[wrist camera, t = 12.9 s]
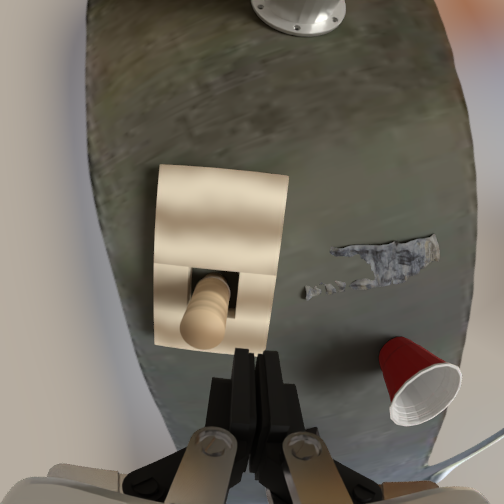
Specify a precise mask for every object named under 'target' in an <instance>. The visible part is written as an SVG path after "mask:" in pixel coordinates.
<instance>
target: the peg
mask: <svg viewBox="0 0 504 504" xmlns="http://www.w3.org/2000/svg"><path fill="white" fill-rule="evenodd" d="M229 299H230V289H229V286H228V284H227V280H226V278H225V277H224V276H223V275H222V274H220V273H216V272H212V273H209V274H207V275H206V276H205V277H204V278H202V279H201V280H200V281H199V282H198V283H197V284H196V286H195V289H194V293H193V295H192V297H191V299H190V302H189V304H188V306H187V309H186V311H185V313H184V315H183V318H182V320H181V323H180V333H181V336H182V338H183V339H184V341H185V342H186V343H187V344H189V345H190V346H192V347H194V348H196V349H201V350H208V349H212V348H214V347H216V346H218V345H219V344H220V343H221V342H222V340H223V338H224V335H225V328H226V320H227V312H228V304H229Z"/></svg>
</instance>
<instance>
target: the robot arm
mask: <svg viewBox="0 0 504 504" xmlns="http://www.w3.org/2000/svg"><path fill="white" fill-rule="evenodd" d="M251 5H252V7H253V10H254V11H255V13H256V14H257V16H258V17H259V18H260V19H261V20H262V21H263V22H265V23H266V24H267V25H269V26H270V27H272V28H274V29H276V30H278V31H281V32H284V33H287V34H290V35H295V36H304V37H311V36H319V35H323V34H326V33H328V32H331V31H332V30H334V29H335V28H337V27H338V25H339V24H340V23H341V22H342V20H343V18H344V16H345V12H346V4H345V0H251ZM297 30H298V31H297ZM248 459H249V471H250V473H255V480H259V483H261V484H262V485H263V486H265V487H266V494H267V498H268V502H269V504H490V503H489V502H488V500H487V499H486V498H485V497H484V495H483V494H482V493H480V492H479V491H478V490H476V489H473V488H469V487H455V486H454V487H440V488H439V486H438V485H437V484H436V483H434V482H432V481H409V482H383V483H382V484H377V483H375V482H374V481H372V480H371V479H369V478H367V477H365V476H363V475H361V474H359V473H357V472H355V471H353V470H352V469H350V468H348V467H346V466H344V465H343V464H341V463H339V462H337V461H335V460H334V459H332V457H331V455H330V453H329V450H328V448H327V446H326V444H325V443H324V441H323V440H322V439H321V438H320V437H319V436H317V435H315V434H313V433H309V432H305V428H304V423H303V418H302V414H301V409H300V404H299V399H298V394H297V390H296V386H295V384H283V380H282V374H281V368H280V361H279V355H278V352H277V351H266V350H264V351H263V354H259V353H258V355H257V361H256V367H255V364H254V353H249V349H244V348H235V352H234V360H233V368H232V376H231V379H223V378H215V377H212V383H211V390H210V396H209V403H208V410H207V417H206V424H205V427H204V428H201V429H199V430H197V431H196V432H194V434H193V435H192V437H191V438H190V441H189V443H188V446H187V447H185V448H183V449H181V450H179V451H177V452H175V453H173V454H171V455H169V456H167V457H165V458H162V459H160V460H158V461H156V462H154V463H151V464H149V465H147V466H144V467H142V468H140V469H137V470H135V471H133V472H131V473H129V474H119V473H118V471H112V470H103V469H96V468H88V467H82V466H76V465H70V464H57V465H54V466H53V467H52V468H51V469H50V470H49V472H48V475H47V477H30V478H26V479H23V480H21V481H19V482H18V483H16V484H15V485H14V486H13V487H12V488H11V489H10V491H9V492H8V493H7V495H6V496H5V498H4V499H3V501H2V502H1V504H226V501H227V497H228V493H229V489H230V488H231V487H233V486H234V485H236V484H237V483H239V482H240V481H241V477H242V473H243V472H245V471H246V468H247V464H248Z"/></svg>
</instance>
